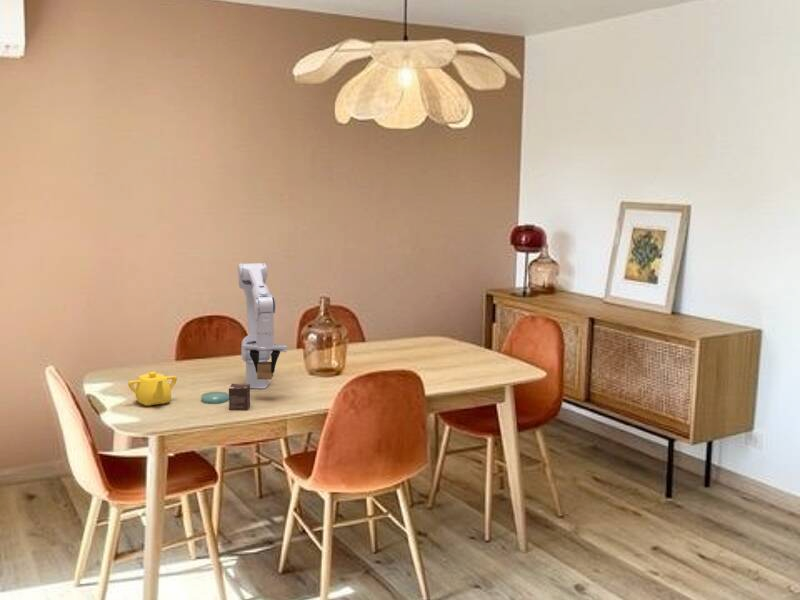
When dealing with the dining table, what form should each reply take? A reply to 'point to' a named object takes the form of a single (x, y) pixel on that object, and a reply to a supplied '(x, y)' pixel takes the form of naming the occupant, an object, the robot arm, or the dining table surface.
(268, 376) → the walnut block
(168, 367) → the dining table surface
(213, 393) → the coaster
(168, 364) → the dining table surface
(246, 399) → the box
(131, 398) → the dining table surface
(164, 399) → the teapot
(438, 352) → the dining table surface
